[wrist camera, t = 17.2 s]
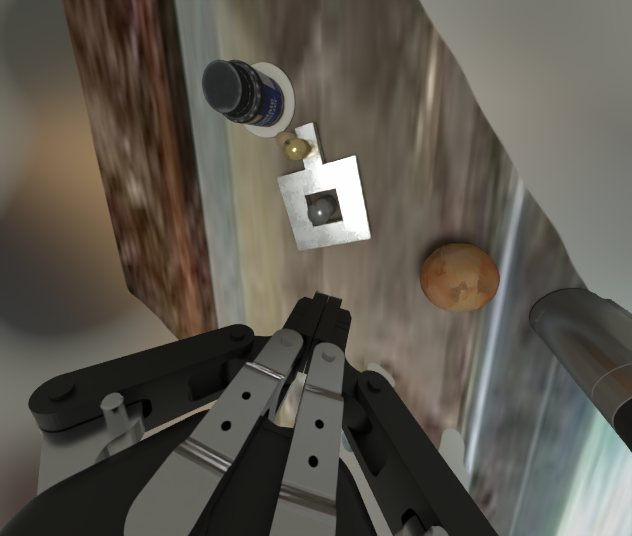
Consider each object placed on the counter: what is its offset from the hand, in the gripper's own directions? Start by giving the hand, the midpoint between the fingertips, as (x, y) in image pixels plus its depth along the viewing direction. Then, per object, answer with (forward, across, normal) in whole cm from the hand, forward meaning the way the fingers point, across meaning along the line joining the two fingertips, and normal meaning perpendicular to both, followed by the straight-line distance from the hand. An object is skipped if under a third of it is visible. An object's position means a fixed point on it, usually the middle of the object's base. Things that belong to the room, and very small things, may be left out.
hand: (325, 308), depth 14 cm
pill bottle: (+29, +18, -10) cm, 35 cm away
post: (+29, +6, +2) cm, 30 cm away
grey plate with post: (+29, +7, -1) cm, 30 cm away
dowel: (+29, +12, -6) cm, 32 cm away
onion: (+29, -15, +6) cm, 33 cm away
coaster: (+29, +18, -10) cm, 36 cm away
